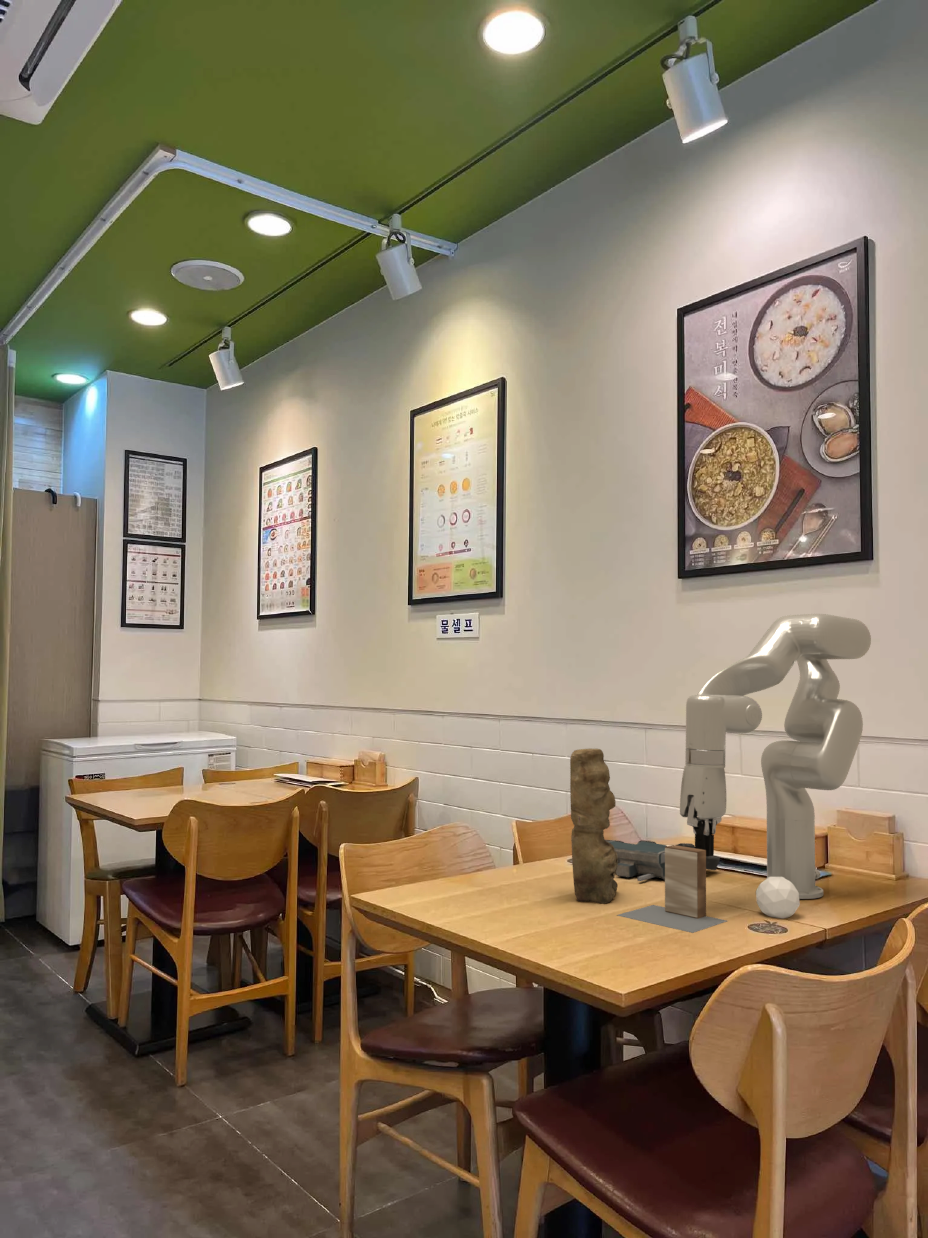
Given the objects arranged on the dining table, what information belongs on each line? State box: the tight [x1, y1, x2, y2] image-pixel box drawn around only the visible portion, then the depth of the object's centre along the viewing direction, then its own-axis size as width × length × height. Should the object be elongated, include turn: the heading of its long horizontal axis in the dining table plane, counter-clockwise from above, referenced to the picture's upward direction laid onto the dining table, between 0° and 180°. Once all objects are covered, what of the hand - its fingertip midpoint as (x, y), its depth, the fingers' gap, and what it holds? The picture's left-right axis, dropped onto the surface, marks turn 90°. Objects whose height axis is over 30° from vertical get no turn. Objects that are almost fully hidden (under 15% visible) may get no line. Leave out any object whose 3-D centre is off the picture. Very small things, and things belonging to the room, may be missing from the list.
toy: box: [605, 839, 721, 882], centre depth 215 cm, size 27×9×30 cm
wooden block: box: [664, 844, 707, 919], centre depth 172 cm, size 3×7×12 cm, turn 45°
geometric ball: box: [755, 877, 801, 919], centre depth 172 cm, size 8×8×8 cm
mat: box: [616, 904, 728, 934], centre depth 168 cm, size 12×16×1 cm
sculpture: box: [569, 748, 618, 905], centre depth 186 cm, size 12×9×30 cm
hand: (704, 855), depth 177 cm, fingers closed
